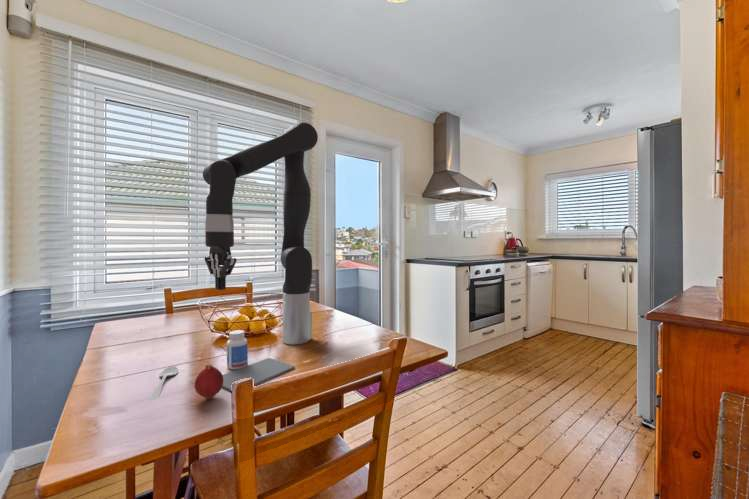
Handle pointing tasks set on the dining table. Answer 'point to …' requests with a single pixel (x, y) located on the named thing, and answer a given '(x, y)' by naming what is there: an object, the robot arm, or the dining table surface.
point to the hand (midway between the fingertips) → (220, 289)
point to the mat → (256, 372)
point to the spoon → (158, 390)
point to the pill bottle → (237, 350)
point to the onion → (209, 382)
